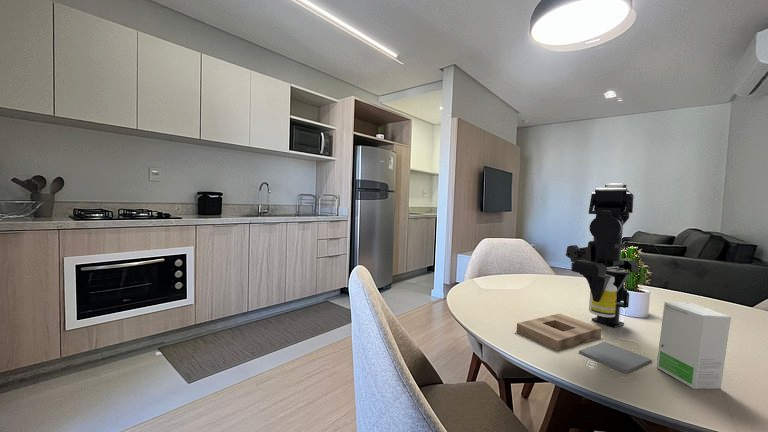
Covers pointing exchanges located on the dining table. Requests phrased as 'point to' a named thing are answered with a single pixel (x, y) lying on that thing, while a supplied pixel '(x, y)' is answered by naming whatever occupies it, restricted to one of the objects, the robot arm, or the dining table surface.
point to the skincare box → (693, 344)
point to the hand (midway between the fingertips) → (602, 300)
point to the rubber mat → (615, 357)
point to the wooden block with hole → (558, 331)
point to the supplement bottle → (605, 301)
